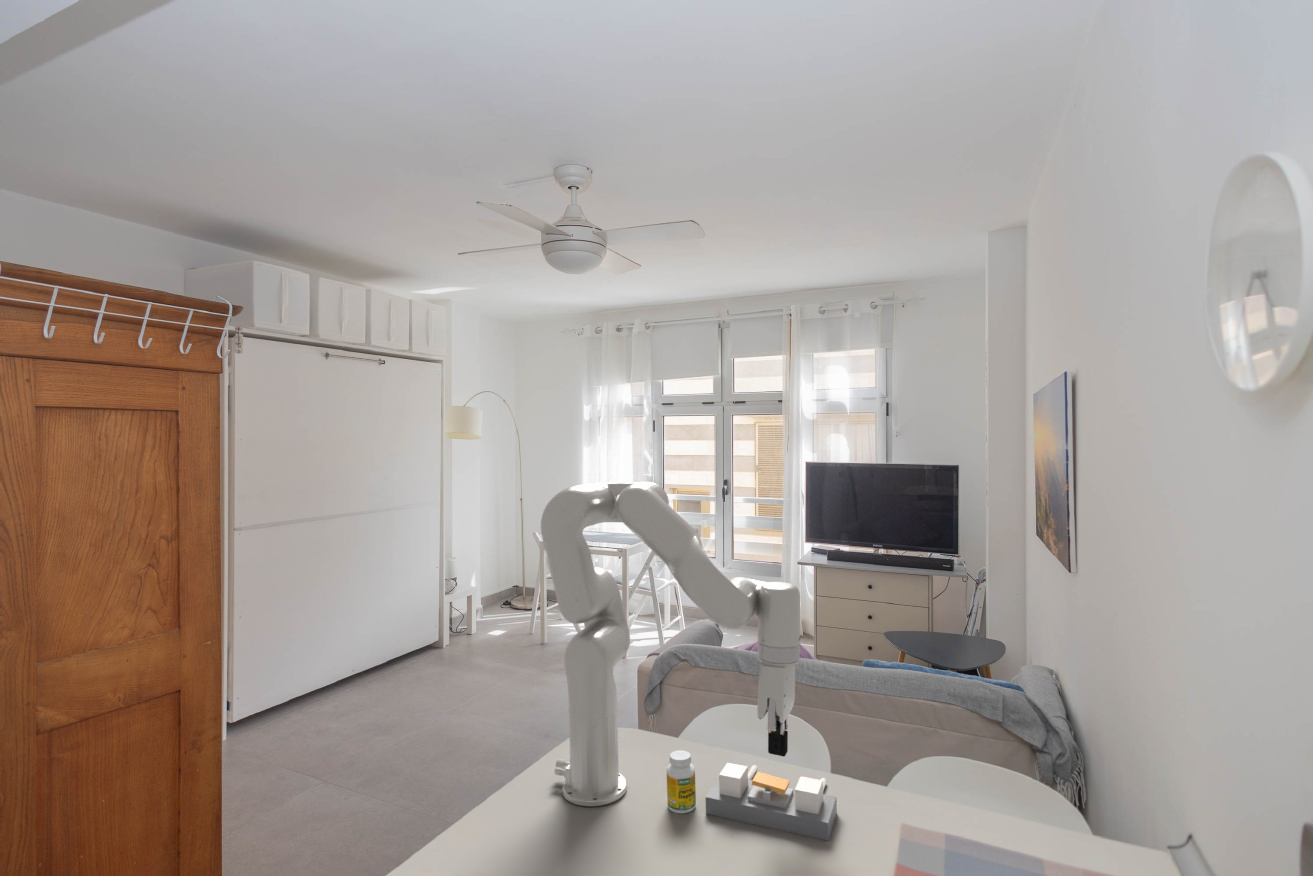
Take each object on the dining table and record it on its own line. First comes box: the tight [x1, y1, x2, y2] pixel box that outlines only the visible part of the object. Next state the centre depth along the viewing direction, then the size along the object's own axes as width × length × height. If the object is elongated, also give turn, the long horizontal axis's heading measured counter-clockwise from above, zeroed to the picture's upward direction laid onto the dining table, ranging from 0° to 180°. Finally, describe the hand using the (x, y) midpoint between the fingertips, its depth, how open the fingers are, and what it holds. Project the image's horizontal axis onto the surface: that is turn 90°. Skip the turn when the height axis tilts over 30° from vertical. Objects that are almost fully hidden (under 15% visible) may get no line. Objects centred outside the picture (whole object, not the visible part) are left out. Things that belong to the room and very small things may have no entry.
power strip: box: [705, 762, 838, 842], centre depth 124 cm, size 22×19×6 cm
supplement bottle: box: [666, 750, 697, 814], centre depth 122 cm, size 5×5×10 cm
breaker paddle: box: [752, 770, 790, 794], centre depth 119 cm, size 6×4×1 cm, turn 66°
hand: (777, 753), depth 119 cm, fingers closed
